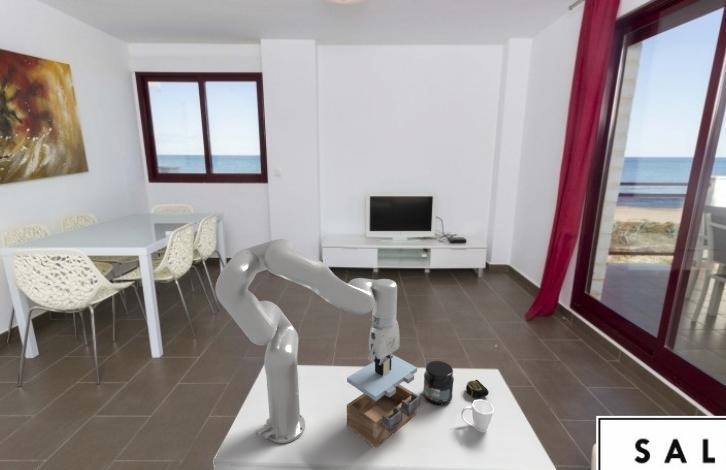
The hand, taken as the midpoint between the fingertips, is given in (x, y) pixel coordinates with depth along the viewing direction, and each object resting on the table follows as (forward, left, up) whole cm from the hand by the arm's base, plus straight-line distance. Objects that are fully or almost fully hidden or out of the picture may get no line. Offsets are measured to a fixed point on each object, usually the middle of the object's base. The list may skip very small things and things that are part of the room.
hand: (383, 370), depth 115 cm
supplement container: (+23, -6, -19) cm, 31 cm away
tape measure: (+35, -15, -19) cm, 43 cm away
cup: (+20, -23, -19) cm, 36 cm away
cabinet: (0, -2, -19) cm, 19 cm away
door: (0, 0, -2) cm, 2 cm away
